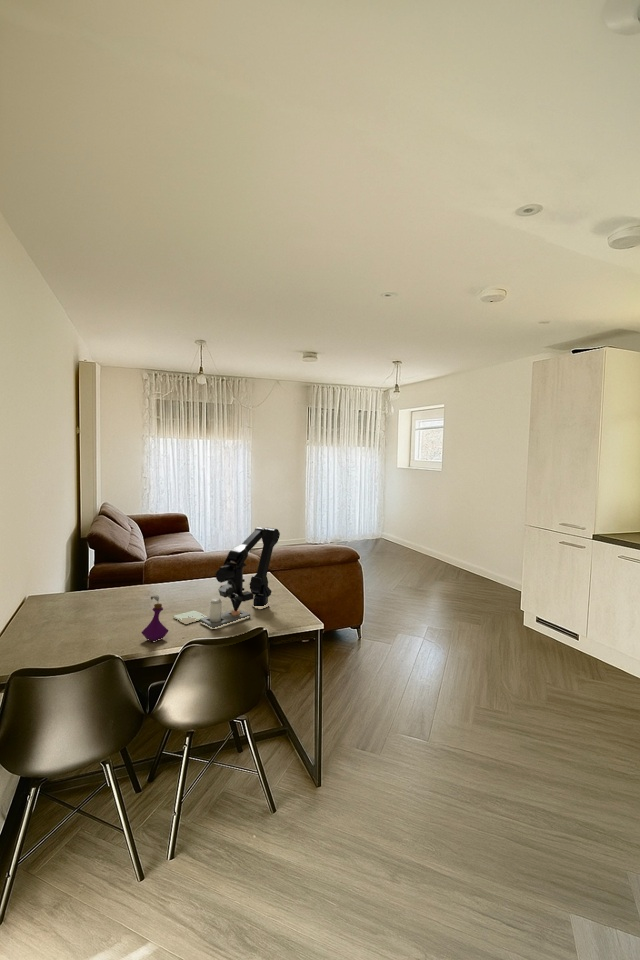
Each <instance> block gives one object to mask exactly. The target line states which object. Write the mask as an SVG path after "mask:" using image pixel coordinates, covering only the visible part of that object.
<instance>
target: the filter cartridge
mask: <svg viewBox="0 0 640 960" xmlns="http://www.w3.org/2000/svg"><path fill="white" fill-rule="evenodd" d="M221 613H222V600H221V599H220V598H212V599H210V601H209V616H210V622H212V623H216V622H220V621H221Z"/></svg>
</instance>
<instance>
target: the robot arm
mask: <svg viewBox="0 0 640 960" xmlns="http://www.w3.org/2000/svg"><path fill="white" fill-rule="evenodd" d="M280 535H281V533H280V531H279V529H278V528H274V527H260V526H258V527H255V528H254V530H253V532H251V534H250V535H249V536H247V538H246V539H245V540H244V541H242V543H241V544H239V545H237V546H235V547H233V548H231V550H229V552H228V553H227V556H226V558H225V560H224V562H223V566H219V568H218V570H216V573H215V579H216V581H217V582H218V583H225V582H227V583H226V584H223V585H220V586H219V588H218V590H217V591H218V593H219V595H220V597H223V598H228V599H230V601H231V606H232V607H233V609H234V611H237V610H238V609H239V608H240V606H241V604H242V603H243V602H244V603H245V602H247V601H251V600H252V601H253V604H252V605H254V606H264V605H266V604H267V603H268V602H269V597H270V596H271V595H272V592H273V591H272V590H271V589H270V587H269V578H268V577H267V576H268V572H269V571H268V570H269V566H270V563H271V559H272V553H273V550H274V547H275V546H276V545H277V544H278V542H279V540H280V539H279V538H280ZM260 540H261V542H262V550H261V554H260V559H259V563H258V566H257V569H256V570H257V571H256V573H255V575H254V576H251V578H250V582H249V589H250V591H248V590H246V591H245V588H244V587H243V583H244V582H246V581H245V579H244V568H245V567H247V564H246V563H245V561H246V560H247V558H248V556H249V553H250V551H252V549H253V548H254V547H255V546H256V545H257V544H258V542H259V541H260ZM268 604H269V603H268Z"/></svg>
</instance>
